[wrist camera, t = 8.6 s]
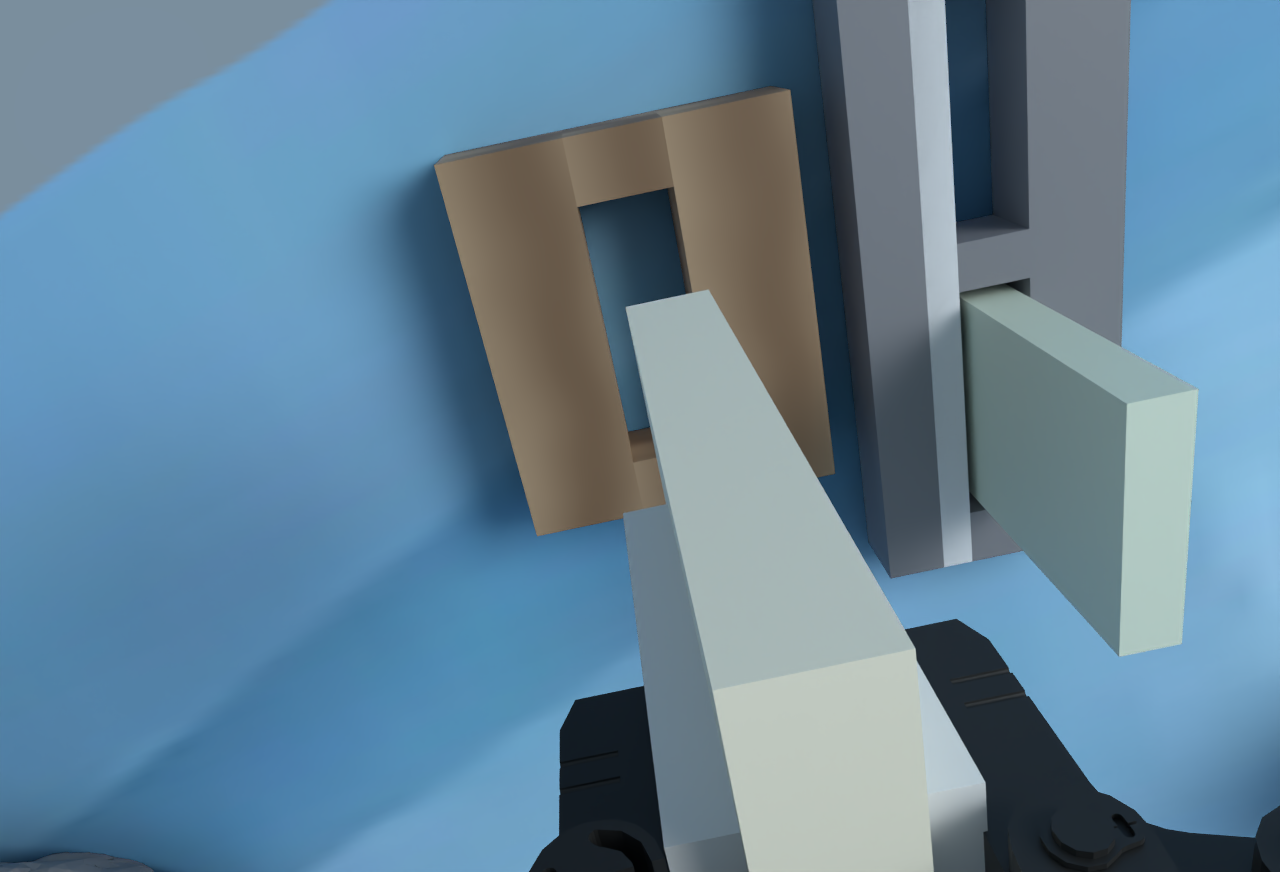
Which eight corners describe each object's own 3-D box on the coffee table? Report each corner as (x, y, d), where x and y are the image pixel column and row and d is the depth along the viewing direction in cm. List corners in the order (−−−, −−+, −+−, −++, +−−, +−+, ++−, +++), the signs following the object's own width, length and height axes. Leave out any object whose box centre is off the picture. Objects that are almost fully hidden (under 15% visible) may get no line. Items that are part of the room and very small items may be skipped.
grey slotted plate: (868, 542, 34) (890, 578, 31) (802, -95, 25) (826, -109, 23) (1078, 498, 34) (1116, 531, 31) (1082, -155, 25) (1135, -175, 23)
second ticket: (948, 468, 33) (1119, 656, 23) (937, 283, 30) (1127, 403, 20) (992, 459, 33) (1181, 643, 23) (985, 273, 30) (1198, 389, 20)
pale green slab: (688, 608, 20) (813, 1190, 10) (625, 306, 17) (712, 690, 7) (759, 594, 20) (958, 1162, 10) (708, 289, 17) (916, 648, 7)
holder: (539, 500, 32) (537, 536, 30) (444, 155, 27) (433, 165, 25) (815, 443, 32) (835, 473, 30) (771, 85, 27) (790, 89, 25)
